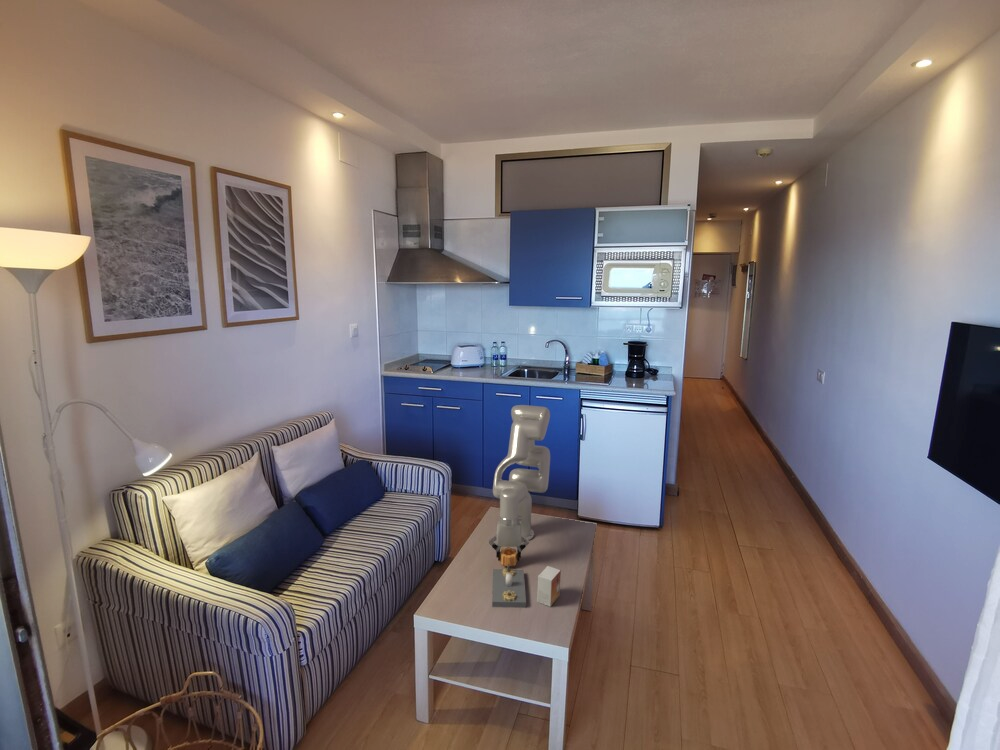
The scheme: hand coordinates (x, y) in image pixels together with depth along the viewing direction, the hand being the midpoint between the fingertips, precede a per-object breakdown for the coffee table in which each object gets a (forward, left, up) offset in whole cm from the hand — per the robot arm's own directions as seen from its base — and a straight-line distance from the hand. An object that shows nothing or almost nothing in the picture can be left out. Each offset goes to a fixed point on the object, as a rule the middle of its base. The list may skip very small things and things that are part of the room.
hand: (508, 558), depth 200 cm
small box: (+21, +14, -3) cm, 26 cm away
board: (+16, 0, -3) cm, 17 cm away
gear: (0, 0, -1) cm, 1 cm away
